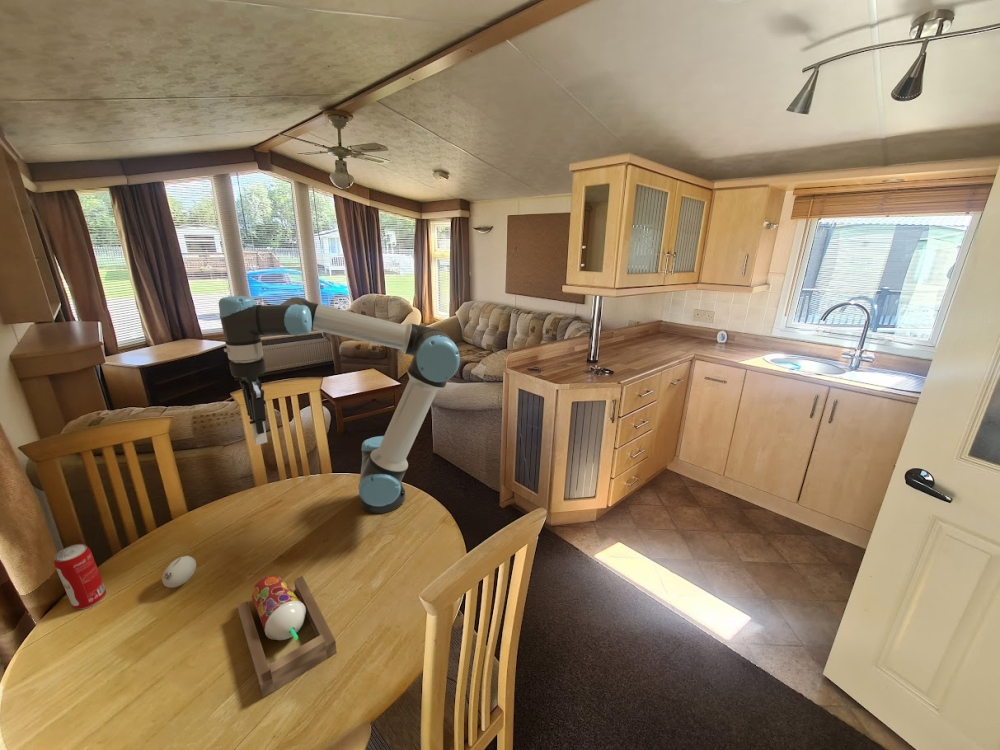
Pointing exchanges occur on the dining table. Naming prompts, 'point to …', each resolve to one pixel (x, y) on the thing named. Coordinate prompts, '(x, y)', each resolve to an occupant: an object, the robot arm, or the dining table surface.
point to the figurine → (179, 571)
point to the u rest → (297, 659)
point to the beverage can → (80, 576)
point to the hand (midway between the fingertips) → (261, 442)
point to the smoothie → (278, 608)
